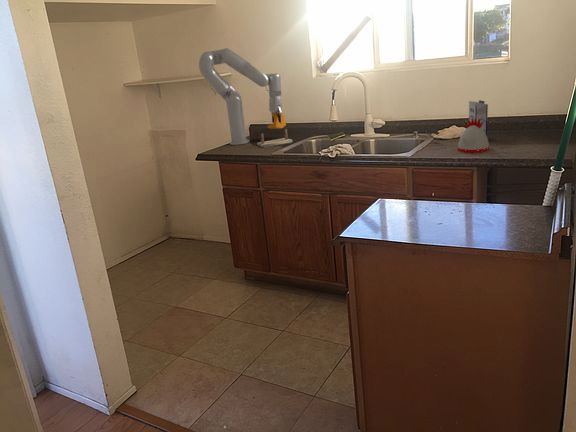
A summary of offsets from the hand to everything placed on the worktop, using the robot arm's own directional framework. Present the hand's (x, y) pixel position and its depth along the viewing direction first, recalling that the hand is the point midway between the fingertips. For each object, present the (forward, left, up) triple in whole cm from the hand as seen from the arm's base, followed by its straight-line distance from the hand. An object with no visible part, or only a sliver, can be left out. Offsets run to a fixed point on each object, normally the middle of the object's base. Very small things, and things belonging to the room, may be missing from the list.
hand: (276, 122), depth 312 cm
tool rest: (+14, -9, -10) cm, 20 cm away
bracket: (0, 0, -4) cm, 4 cm away
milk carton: (+100, +69, -11) cm, 122 cm away
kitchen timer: (+116, +50, -11) cm, 127 cm away
